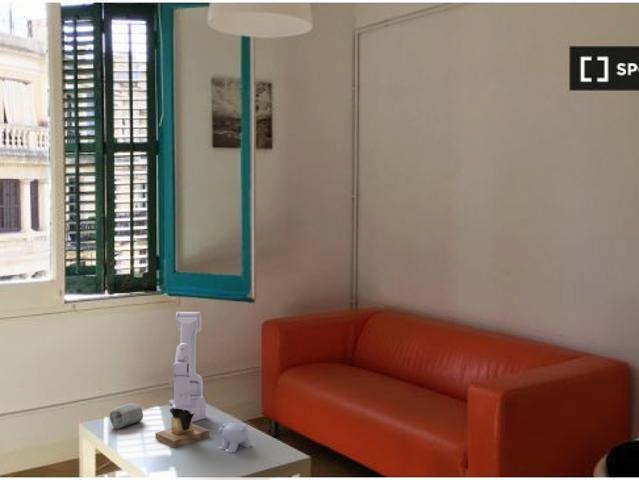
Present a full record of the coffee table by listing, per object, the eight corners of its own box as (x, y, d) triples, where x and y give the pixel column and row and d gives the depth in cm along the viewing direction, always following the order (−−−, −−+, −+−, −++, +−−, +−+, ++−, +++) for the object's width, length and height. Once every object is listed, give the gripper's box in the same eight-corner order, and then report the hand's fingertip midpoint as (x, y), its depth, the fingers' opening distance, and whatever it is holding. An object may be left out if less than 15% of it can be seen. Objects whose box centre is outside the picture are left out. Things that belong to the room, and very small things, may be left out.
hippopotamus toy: (233, 437, 288) (233, 412, 287) (257, 448, 277) (257, 422, 276) (209, 444, 281) (209, 418, 280) (233, 455, 270) (233, 429, 269)
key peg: (171, 435, 285) (171, 417, 285) (186, 430, 290) (185, 413, 289) (177, 438, 283) (177, 419, 282) (192, 433, 287) (191, 415, 286)
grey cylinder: (118, 425, 291) (116, 399, 295) (105, 431, 296) (104, 405, 300) (149, 425, 300) (147, 400, 304) (135, 431, 306) (134, 406, 310)
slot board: (190, 428, 296) (190, 422, 296) (209, 436, 288) (209, 430, 288) (155, 439, 285) (155, 432, 285) (174, 447, 277) (174, 441, 276)
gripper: (161, 390, 287) (162, 426, 288) (184, 399, 277) (185, 435, 278) (177, 387, 292) (177, 421, 293) (200, 395, 282) (200, 430, 283)
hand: (182, 428), depth 286 cm, fingers closed on key peg, 4 cm apart
